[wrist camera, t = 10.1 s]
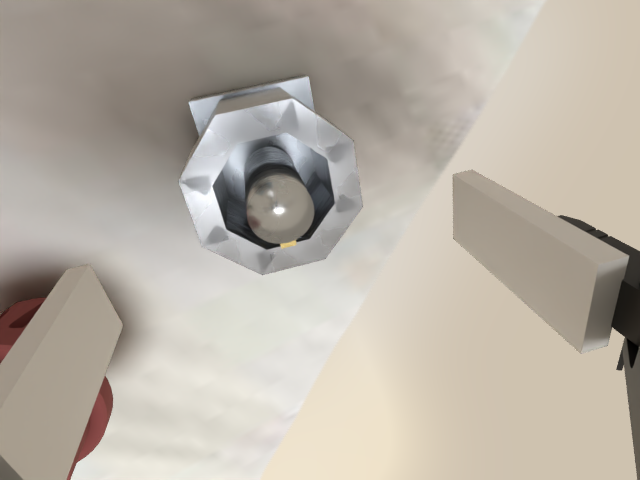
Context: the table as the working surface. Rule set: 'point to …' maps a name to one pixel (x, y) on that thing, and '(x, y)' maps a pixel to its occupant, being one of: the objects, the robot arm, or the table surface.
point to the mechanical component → (9, 327)
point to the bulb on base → (268, 169)
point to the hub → (230, 210)
